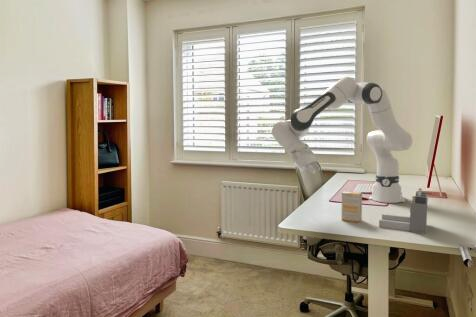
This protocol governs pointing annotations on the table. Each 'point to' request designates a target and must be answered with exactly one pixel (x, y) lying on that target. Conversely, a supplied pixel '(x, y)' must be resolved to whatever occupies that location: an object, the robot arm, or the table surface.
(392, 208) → the table surface
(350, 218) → the supplement box
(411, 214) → the gray l-shaped stand
